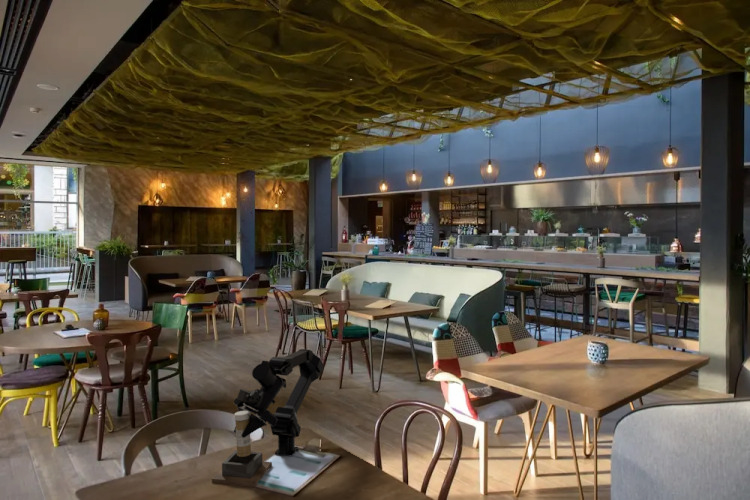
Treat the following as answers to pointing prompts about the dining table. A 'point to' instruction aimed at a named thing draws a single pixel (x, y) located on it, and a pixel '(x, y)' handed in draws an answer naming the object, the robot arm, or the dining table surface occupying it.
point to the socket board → (242, 470)
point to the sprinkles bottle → (241, 442)
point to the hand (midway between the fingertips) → (238, 434)
